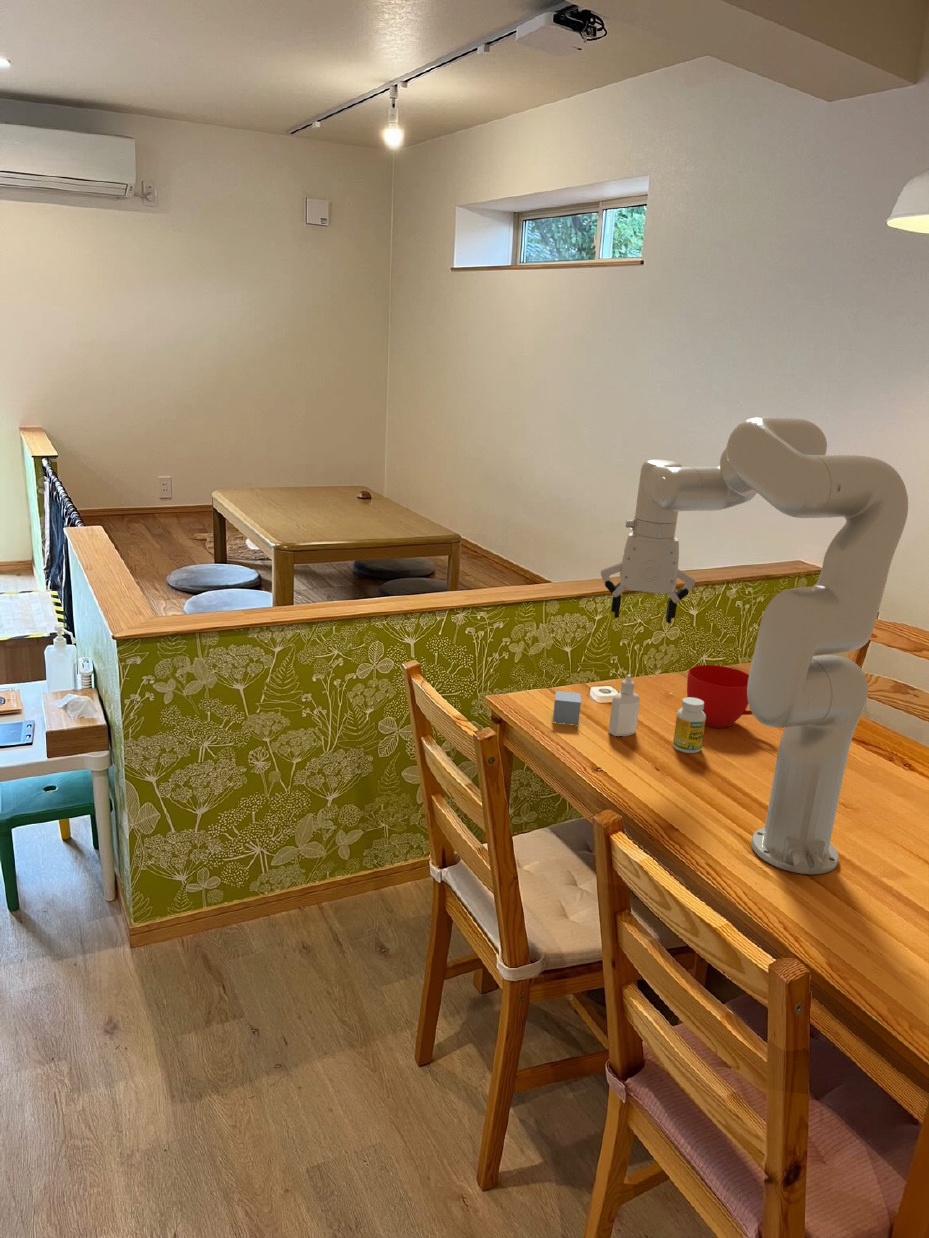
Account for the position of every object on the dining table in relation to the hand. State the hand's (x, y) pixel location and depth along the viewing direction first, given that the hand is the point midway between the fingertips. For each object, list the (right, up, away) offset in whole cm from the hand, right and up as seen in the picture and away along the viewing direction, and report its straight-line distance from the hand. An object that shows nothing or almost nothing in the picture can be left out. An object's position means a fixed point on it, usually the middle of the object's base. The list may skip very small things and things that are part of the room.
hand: (642, 618), depth 178 cm
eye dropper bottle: (-3, -22, +7) cm, 24 cm away
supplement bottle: (+9, -25, +3) cm, 26 cm away
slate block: (-13, -20, +12) cm, 27 cm away
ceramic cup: (+19, -22, +15) cm, 33 cm away
